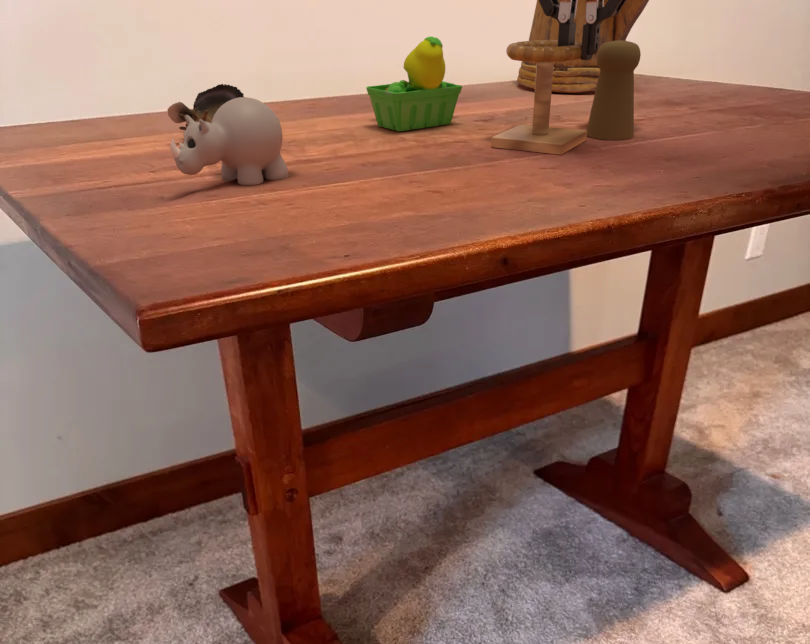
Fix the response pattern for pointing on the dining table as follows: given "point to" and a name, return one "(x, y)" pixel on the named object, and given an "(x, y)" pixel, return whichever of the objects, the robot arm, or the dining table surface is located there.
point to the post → (540, 123)
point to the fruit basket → (417, 92)
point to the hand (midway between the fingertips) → (577, 58)
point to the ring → (543, 51)
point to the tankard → (578, 72)
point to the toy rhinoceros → (235, 143)
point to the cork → (614, 92)
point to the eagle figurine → (204, 104)
